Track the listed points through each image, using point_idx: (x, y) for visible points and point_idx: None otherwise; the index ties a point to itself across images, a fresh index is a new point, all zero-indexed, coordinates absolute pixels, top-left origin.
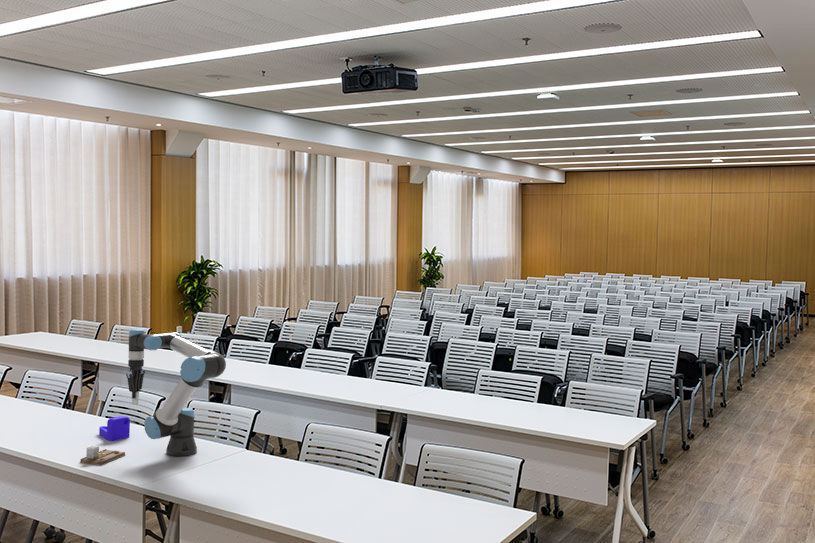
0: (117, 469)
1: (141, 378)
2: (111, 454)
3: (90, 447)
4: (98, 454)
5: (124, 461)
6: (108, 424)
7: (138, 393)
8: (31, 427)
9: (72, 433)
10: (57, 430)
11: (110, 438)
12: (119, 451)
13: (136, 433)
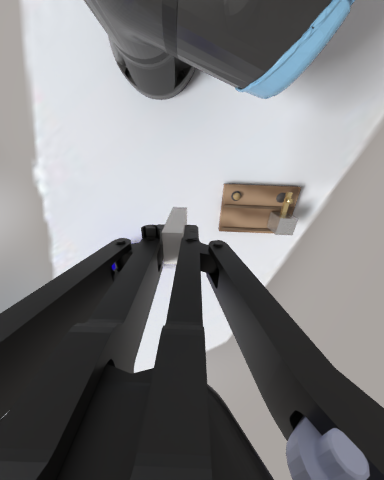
0: (326, 133)
1: (46, 315)
2: (247, 200)
3: (287, 230)
4: (286, 207)
5: (266, 156)
6: None
7: (164, 227)
8: (146, 360)
9: None
10: (142, 337)
11: None
12: (223, 198)
13: (90, 249)
